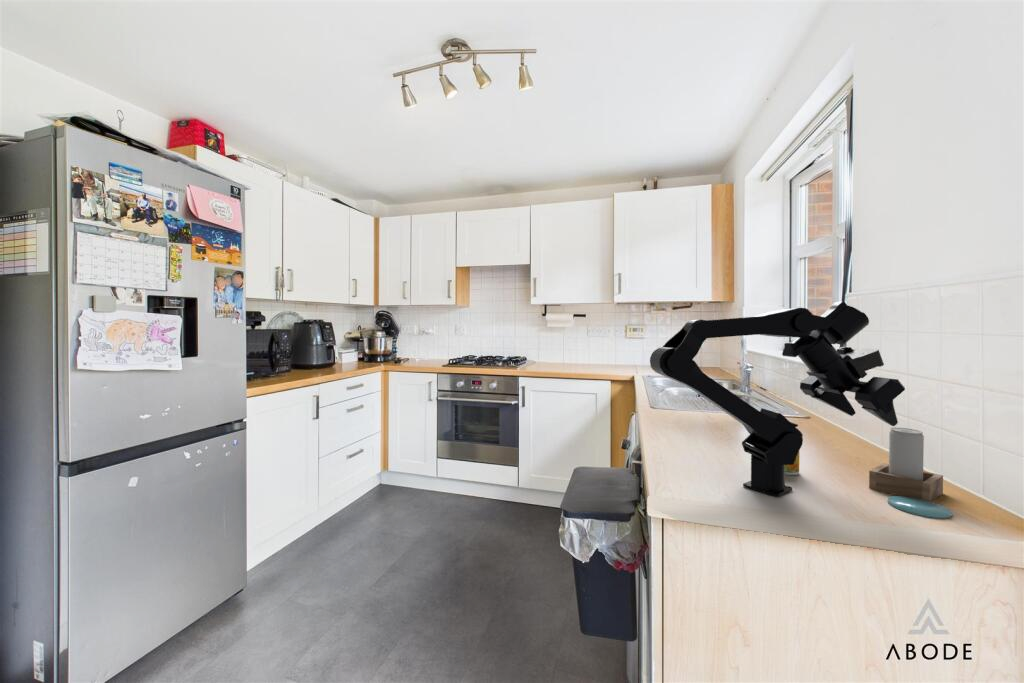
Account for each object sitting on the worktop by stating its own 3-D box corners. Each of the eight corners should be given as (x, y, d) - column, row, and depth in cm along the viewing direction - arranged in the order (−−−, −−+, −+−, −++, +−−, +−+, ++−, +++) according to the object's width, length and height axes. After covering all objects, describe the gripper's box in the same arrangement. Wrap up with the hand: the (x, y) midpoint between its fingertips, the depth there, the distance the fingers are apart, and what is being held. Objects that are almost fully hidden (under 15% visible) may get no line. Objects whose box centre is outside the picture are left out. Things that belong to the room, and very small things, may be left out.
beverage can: (929, 496, 75) (931, 433, 75) (900, 494, 76) (901, 432, 76) (910, 486, 80) (911, 427, 80) (882, 485, 81) (883, 426, 81)
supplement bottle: (773, 473, 88) (773, 430, 88) (767, 466, 93) (768, 425, 93) (802, 477, 86) (803, 432, 86) (795, 469, 91) (795, 427, 91)
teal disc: (945, 522, 65) (945, 519, 65) (880, 505, 72) (881, 502, 72) (957, 511, 69) (957, 508, 69) (895, 495, 76) (895, 492, 76)
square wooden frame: (929, 503, 72) (930, 484, 72) (869, 487, 80) (869, 470, 80) (942, 493, 77) (943, 475, 77) (884, 479, 84) (884, 463, 84)
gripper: (899, 333, 69) (956, 401, 69) (818, 333, 88) (863, 386, 88) (849, 374, 69) (907, 442, 69) (779, 366, 88) (824, 419, 88)
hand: (873, 419), depth 79 cm, fingers open, 9 cm apart
